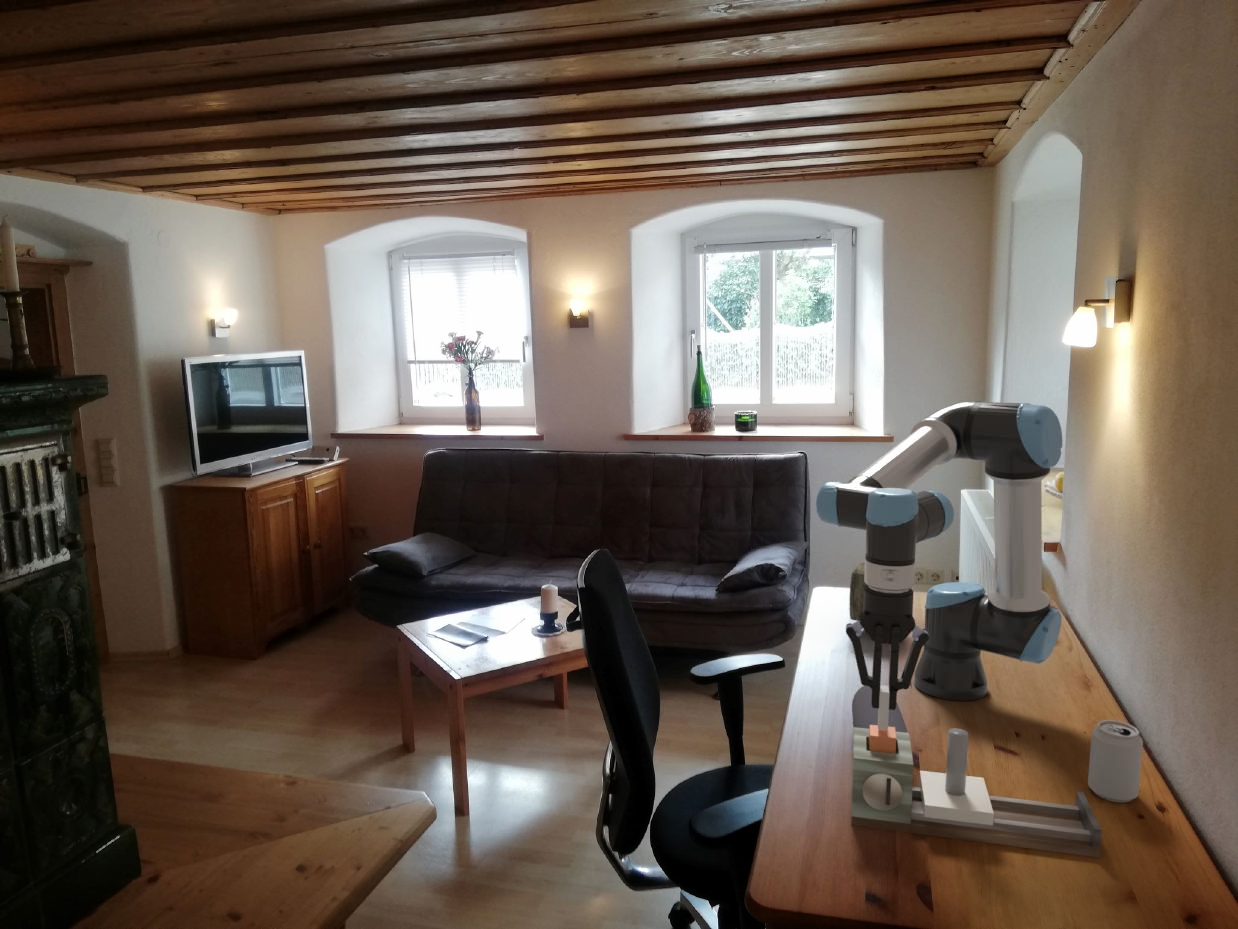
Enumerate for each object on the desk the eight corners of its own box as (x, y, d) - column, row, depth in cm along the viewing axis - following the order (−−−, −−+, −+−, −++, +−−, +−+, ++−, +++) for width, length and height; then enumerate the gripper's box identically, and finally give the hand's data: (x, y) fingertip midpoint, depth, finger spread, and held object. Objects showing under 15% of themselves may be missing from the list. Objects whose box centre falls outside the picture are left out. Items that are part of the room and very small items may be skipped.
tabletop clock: (868, 621, 235) (871, 531, 231) (901, 627, 230) (905, 535, 226) (848, 637, 224) (851, 542, 220) (883, 644, 218) (887, 547, 214)
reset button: (869, 741, 145) (869, 724, 144) (894, 744, 144) (895, 727, 143) (869, 752, 141) (870, 735, 140) (895, 755, 140) (896, 738, 139)
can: (1137, 809, 144) (1143, 741, 142) (1085, 797, 147) (1091, 730, 146) (1138, 789, 150) (1144, 723, 148) (1089, 777, 154) (1094, 713, 152)
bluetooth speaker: (914, 790, 150) (917, 736, 149) (858, 785, 152) (860, 732, 150) (897, 730, 172) (899, 682, 171) (848, 727, 174) (850, 679, 172)
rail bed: (851, 789, 150) (853, 727, 149) (1081, 817, 141) (1086, 751, 140) (851, 827, 139) (853, 760, 137) (1101, 860, 130) (1107, 789, 128)
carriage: (919, 781, 147) (922, 714, 145) (982, 789, 145) (986, 720, 143) (924, 816, 137) (928, 745, 135) (993, 825, 134) (997, 752, 132)
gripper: (846, 590, 136) (841, 732, 140) (934, 596, 133) (926, 741, 136) (846, 577, 143) (841, 712, 147) (930, 582, 140) (923, 721, 144)
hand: (882, 726), depth 142 cm, fingers closed
